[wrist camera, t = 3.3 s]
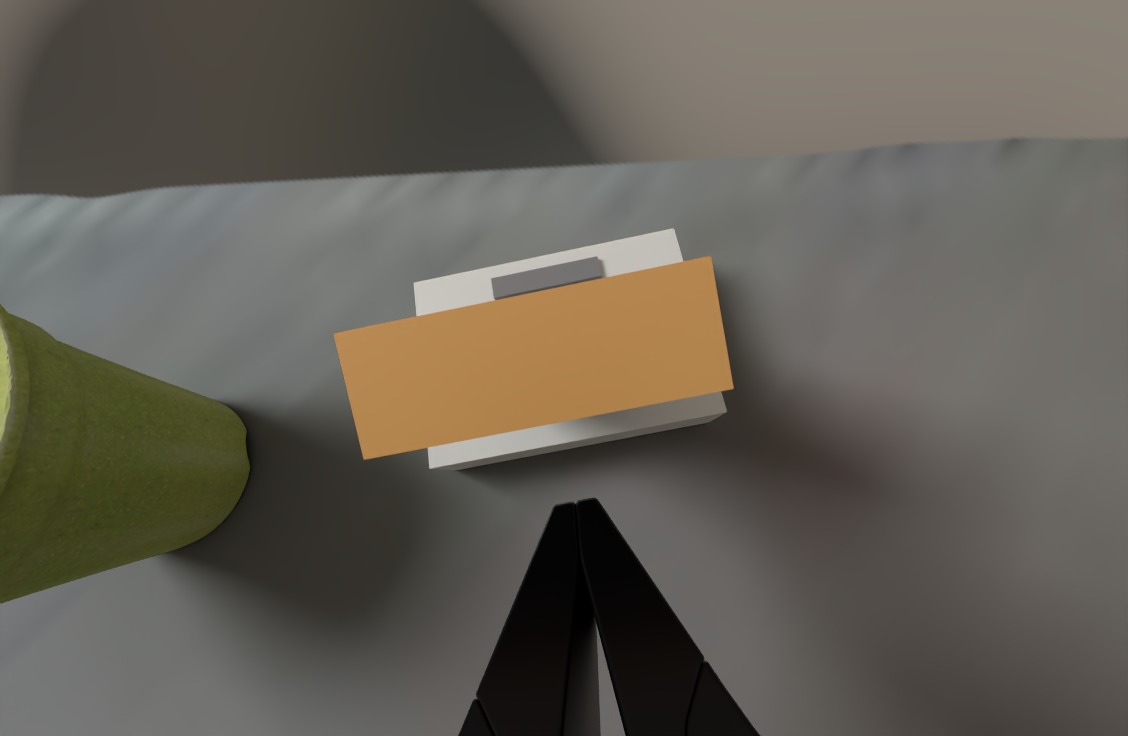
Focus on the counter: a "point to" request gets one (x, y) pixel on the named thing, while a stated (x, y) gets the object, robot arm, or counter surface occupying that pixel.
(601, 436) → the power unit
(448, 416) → the rocker lever
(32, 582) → the plant pot
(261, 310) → the counter surface
